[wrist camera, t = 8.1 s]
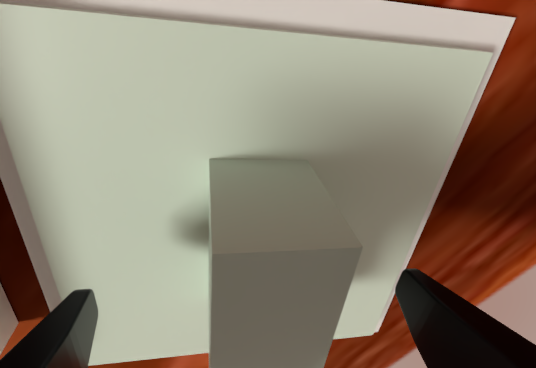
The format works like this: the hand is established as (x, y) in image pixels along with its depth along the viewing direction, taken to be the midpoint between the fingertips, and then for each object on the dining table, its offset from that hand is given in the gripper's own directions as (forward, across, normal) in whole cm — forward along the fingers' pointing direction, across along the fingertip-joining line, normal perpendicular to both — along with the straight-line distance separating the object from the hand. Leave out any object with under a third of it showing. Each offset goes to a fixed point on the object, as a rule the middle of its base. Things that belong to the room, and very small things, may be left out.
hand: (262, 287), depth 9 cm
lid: (+3, 0, 0) cm, 3 cm away
